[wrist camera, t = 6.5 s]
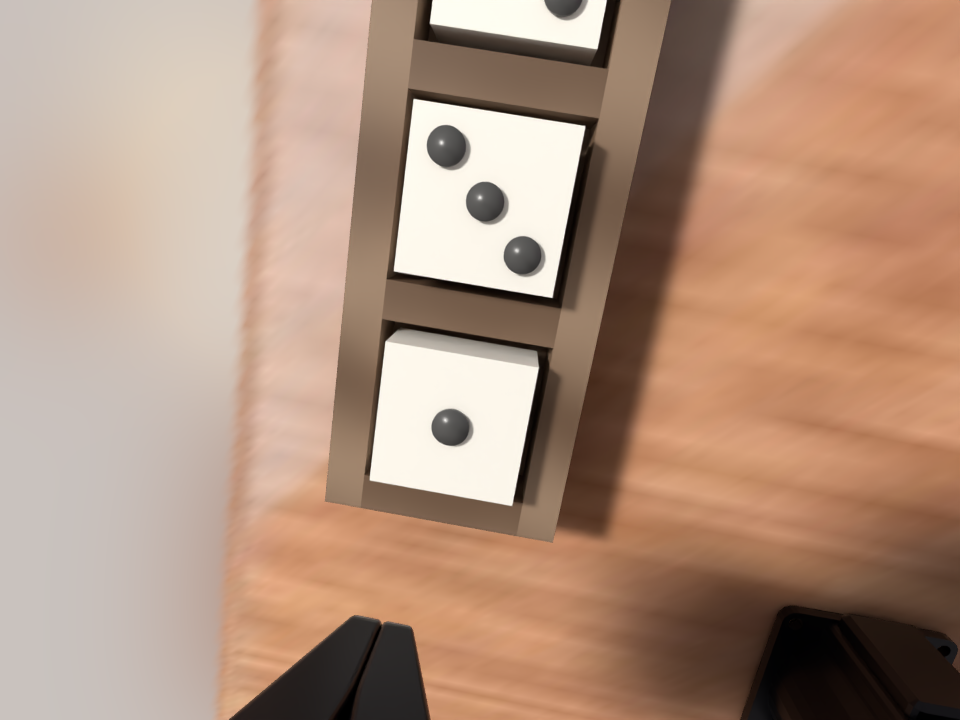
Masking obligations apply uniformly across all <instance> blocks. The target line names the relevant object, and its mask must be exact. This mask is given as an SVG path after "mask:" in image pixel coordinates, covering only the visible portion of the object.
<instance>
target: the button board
mask: <svg viewBox="0 0 960 720" xmlns="http://www.w3.org/2000/svg"><path fill="white" fill-rule="evenodd" d="M432 2H433V0H372V5H371V16H370V27H369V37H368V48H367V59H366V69H365V80H364V91H363V101H362V112H361V123H360V133H359V144H358V155H357V165H356V176H355V187H354V197H353V208H352V219H351V229H350V240H349V251H348V261H347V272H346V283H345V293H344V304H343V315H342V325H341V336H340V347H339V357H338V368H337V379H336V389H335V400H334V411H333V421H332V432H331V443H330V453H329V464H328V475H327V485H326V496H325V501H326V502H331V503H337V504H342V505H348V506H353V507H359V508H364V509H370V510H375V511H381V512H386V513H392V514H398V515H403V516H409V517H414V518H420V519H425V520H431V521H436V522H442V523H447V524H453V525H458V526H464V527H469V528H475V529H480V530H486V531H491V532H497V533H502V534H508V535H513V536H519V537H524V538H530V539H535V540H541V541H546V542H552V543H553V539H554V535H555V530H556V525H557V521H558V516H559V512H560V507H561V503H562V498H563V493H564V489H565V484H566V480H567V475H568V471H569V466H570V461H571V457H572V452H573V448H574V443H575V439H576V434H577V429H578V425H579V420H580V416H581V411H582V407H583V402H584V397H585V393H586V388H587V384H588V379H589V374H590V370H591V365H592V361H593V356H594V352H595V347H596V342H597V338H598V333H599V329H600V324H601V320H602V315H603V310H604V306H605V301H606V297H607V292H608V288H609V283H610V278H611V274H612V269H613V265H614V260H615V256H616V251H617V246H618V242H619V237H620V233H621V228H622V224H623V219H624V214H625V210H626V205H627V201H628V196H629V192H630V187H631V182H632V178H633V173H634V169H635V164H636V160H637V155H638V150H639V146H640V141H641V137H642V132H643V128H644V123H645V118H646V114H647V109H648V105H649V100H650V96H651V91H652V86H653V82H654V77H655V73H656V68H657V64H658V59H659V54H660V50H661V45H662V41H663V36H664V32H665V27H666V22H667V18H668V13H669V9H670V4H671V0H607V2H606V7H605V12H604V17H603V23H602V28H601V33H600V38H599V44H598V49H597V51H596V53H595V56H594V58H593V60H592V62H591V64H590V66H585V65H578V64H572V63H565V62H559V61H552V60H546V59H539V58H533V57H526V56H520V55H513V54H507V53H501V52H494V51H488V50H481V49H475V48H468V47H462V46H455V45H449V44H442V43H439V41H438V39H437V37H436V35H435V33H434V31H433V29H432V27H431V25H430V19H431V10H432ZM414 99H417V100H423V101H430V102H436V103H442V104H449V105H455V106H461V107H468V108H474V109H480V110H487V111H493V112H499V113H506V114H512V115H518V116H525V117H531V118H537V119H544V120H550V121H556V122H563V123H569V124H575V125H582V126H585V131H584V136H583V141H582V146H581V152H580V157H579V162H578V167H577V172H576V177H575V183H574V188H573V193H572V198H571V203H570V209H569V214H568V219H567V224H566V229H565V234H564V240H563V245H562V250H561V255H560V260H559V266H558V271H557V276H556V281H555V286H554V291H553V297H552V298H550V297H544V296H538V295H532V294H526V293H520V292H514V291H508V290H502V289H496V288H490V287H484V286H478V285H472V284H466V283H460V282H454V281H448V280H442V279H437V278H431V277H425V276H419V275H413V274H407V273H401V272H395V271H394V264H395V256H396V247H397V238H398V230H399V221H400V213H401V204H402V195H403V187H404V178H405V169H406V161H407V152H408V144H409V135H410V126H411V118H412V109H413V100H414ZM399 328H406V329H412V330H418V331H423V332H429V333H435V334H441V335H447V336H453V337H459V338H464V339H470V340H476V341H482V342H488V343H494V344H499V345H505V346H511V347H517V348H523V349H529V350H535V351H537V356H538V365H539V369H538V374H537V380H536V385H535V390H534V395H533V400H532V405H531V411H530V416H529V421H528V426H527V431H526V437H525V442H524V447H523V452H522V457H521V462H520V468H519V473H518V478H517V483H516V488H515V494H514V499H513V504H512V506H509V505H504V504H498V503H493V502H487V501H481V500H476V499H470V498H465V497H459V496H454V495H448V494H442V493H437V492H431V491H426V490H420V489H415V488H409V487H404V486H398V485H392V484H387V483H381V482H376V481H370V471H371V463H372V454H373V445H374V437H375V428H376V420H377V411H378V402H379V394H380V385H381V376H382V368H383V359H384V351H385V342H386V341H387V340H388V339H389V338H390V337H391V336H392V335H393V334H394V333H395V332H396V331H397V330H398V329H399Z"/></svg>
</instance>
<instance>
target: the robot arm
mask: <svg viewBox="0 0 960 720" xmlns="http://www.w3.org/2000/svg"><path fill="white" fill-rule="evenodd" d="M792 619H796V621H794V622H790V620H792ZM939 647H940V648H939ZM957 651H958V648H957V645H956V644H955V643H954V642H953V641H952V640H951V639H950V638H949V637H948V636H947V635H946V634H943V633H940V632H935V631H929V630H924V629H919V628H916V627H914V626H912V625H907V624H901V623H896V622H890V621H885V620H879V619H874V618H868V617H863V616H857V615H852V614H849V615H842V614H836V613H831V612H825V611H820V610H814V609H809V608H803V607H798V606H787V607H784V608H783V609H781V610H780V611H779V613H778V615H777V618H776V620H775V623H774V626H773V629H772V632H771V635H770V637H769V640H768V643H767V646H766V649H765V652H764V654H763V657H762V660H761V663H760V666H759V668H758V671H757V674H756V677H755V680H754V683H753V685H752V688H751V691H750V694H749V697H748V700H747V702H746V705H745V708H744V711H743V714H742V717H741V719H740V720H960V673H959V672H958V671H957V670H956V669H955V668H954V667H953V666H952V663H953V661H954V659H955V657H956V655H957ZM229 720H431V719H430V714H429V709H428V704H427V699H426V693H425V688H424V683H423V678H422V673H421V668H420V663H419V658H418V652H417V647H416V642H415V637H414V632H413V629H412V628H411V627H410V626H408V625H404V624H399V623H394V622H389V621H387V622H384V623H383V625H382V624H381V621H380V620H378V619H374V618H369V617H364V616H359V615H354V616H352V617H350V618H349V619H348V620H347V621H345V622H344V623H343V624H342V625H341V626H339V627H338V628H337V629H336V630H335V631H334V632H332V633H331V634H330V635H329V636H328V637H326V638H325V639H324V640H323V641H322V642H320V643H319V644H318V645H317V646H316V647H315V648H313V649H312V650H311V651H310V652H309V653H307V654H306V655H305V656H304V657H303V658H301V659H300V660H299V661H298V662H297V663H296V664H294V665H293V666H292V667H291V668H290V669H288V670H287V671H286V672H285V673H284V674H282V675H281V676H280V677H279V678H278V679H277V680H275V681H274V682H273V683H272V684H271V685H269V686H268V687H267V688H266V689H265V690H263V691H262V692H261V693H260V694H259V695H258V696H256V697H255V698H254V699H253V700H252V701H250V702H249V703H248V704H247V705H246V706H244V707H243V708H242V709H241V710H240V711H239V712H237V713H236V714H235V715H234V716H233V717H231V718H230V719H229Z"/></svg>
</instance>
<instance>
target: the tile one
mask: <svg viewBox="0 0 960 720" xmlns="http://www.w3.org/2000/svg"><path fill="white" fill-rule="evenodd" d="M538 369H539V365H538V356H537V351H535V350H529V349H523V348H517V347H511V346H505V345H499V344H494V343H488V342H482V341H476V340H470V339H464V338H459V337H453V336H447V335H441V334H435V333H429V332H423V331H418V330H412V329H406V328H399V329H398V330H397V331H396V332H395V333H394V334H393V335H392V336H391V337H390V338H389V339H388V340H387V341H386V342H385V351H384V359H383V368H382V376H381V385H380V394H379V402H378V411H377V420H376V428H375V437H374V445H373V454H372V463H371V471H370V481H376V482H381V483H387V484H392V485H398V486H404V487H409V488H415V489H420V490H426V491H431V492H437V493H442V494H448V495H454V496H459V497H465V498H470V499H476V500H481V501H487V502H493V503H498V504H504V505H509V506H512V504H513V499H514V494H515V488H516V483H517V478H518V473H519V468H520V462H521V457H522V452H523V447H524V442H525V437H526V431H527V426H528V421H529V416H530V411H531V405H532V400H533V395H534V390H535V385H536V380H537V374H538Z"/></svg>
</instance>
